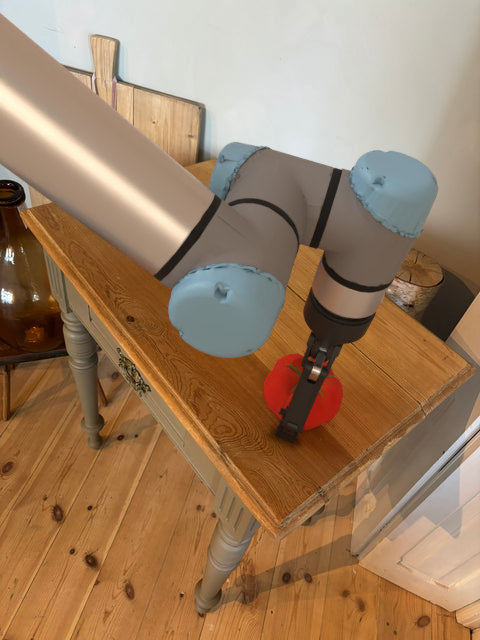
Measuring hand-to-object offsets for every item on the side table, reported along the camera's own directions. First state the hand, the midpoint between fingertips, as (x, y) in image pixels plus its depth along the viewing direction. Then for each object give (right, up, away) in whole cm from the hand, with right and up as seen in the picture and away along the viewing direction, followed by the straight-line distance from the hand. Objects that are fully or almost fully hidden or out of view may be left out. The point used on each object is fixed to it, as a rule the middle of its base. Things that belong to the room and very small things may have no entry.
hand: (296, 404), depth 66 cm
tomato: (0, 0, 0) cm, 0 cm away
